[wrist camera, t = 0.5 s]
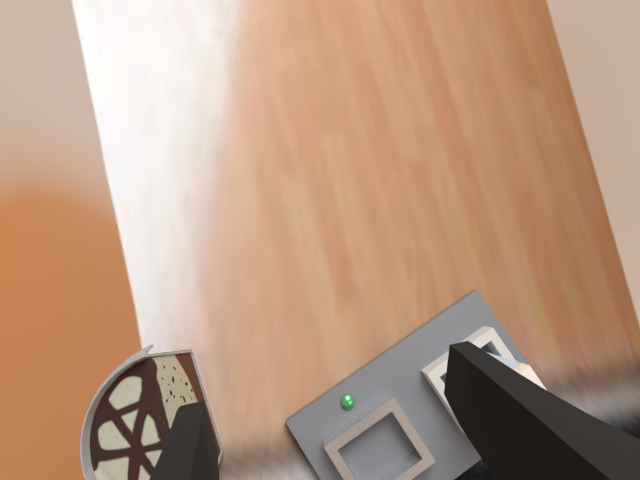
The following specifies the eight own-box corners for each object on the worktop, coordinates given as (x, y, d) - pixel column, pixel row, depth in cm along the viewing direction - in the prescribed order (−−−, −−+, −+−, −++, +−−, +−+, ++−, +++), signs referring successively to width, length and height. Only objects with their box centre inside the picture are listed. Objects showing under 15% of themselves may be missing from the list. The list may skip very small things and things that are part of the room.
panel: (549, 400, 36) (556, 403, 35) (360, 540, 34) (362, 548, 33) (472, 290, 37) (477, 289, 36) (286, 419, 35) (285, 422, 34)
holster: (523, 383, 35) (535, 388, 33) (460, 430, 34) (468, 437, 33) (483, 325, 36) (492, 327, 34) (420, 370, 35) (426, 374, 33)
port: (429, 453, 34) (435, 461, 32) (361, 502, 33) (365, 514, 32) (376, 372, 35) (380, 376, 33) (310, 418, 34) (310, 425, 32)
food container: (121, 357, 35) (48, 381, 25) (186, 333, 36) (140, 348, 26) (160, 495, 34) (100, 577, 24) (228, 468, 34) (196, 538, 24)
